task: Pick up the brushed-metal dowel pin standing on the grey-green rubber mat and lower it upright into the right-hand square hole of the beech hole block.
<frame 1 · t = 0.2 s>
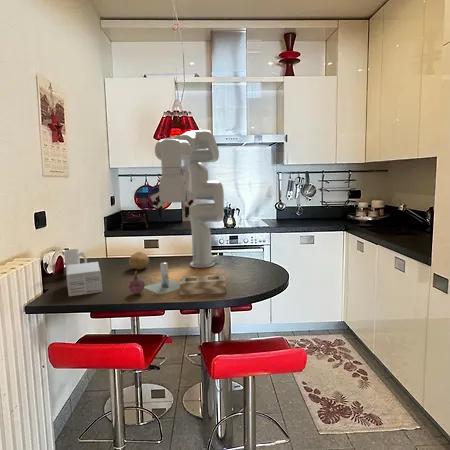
hand: (174, 217, 146), 30 cm above the breakfast bar, tool pointing down, fingers open, 9 cm apart
supplement box: (85, 289, 161), on the breakfast bar
hole block: (202, 290, 153), on the breakfast bar
mug: (77, 275, 184), on the breakfast bar
vegetable: (137, 295, 150), on the breakfast bar
pin: (165, 286, 158), resting on mat
mat: (165, 287, 158), on the breakfast bar
potato: (139, 269, 190), on the breakfast bar
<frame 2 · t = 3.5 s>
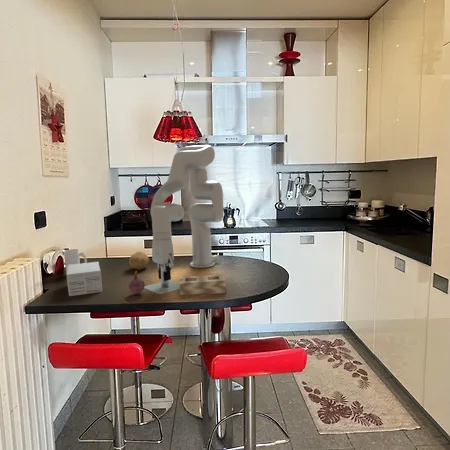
hand: (164, 278, 158), 4 cm above the breakfast bar, tool pointing down, fingers closed on pin, 3 cm apart
pin: (165, 286, 158), resting on mat, touching gripper
everything else where it was.
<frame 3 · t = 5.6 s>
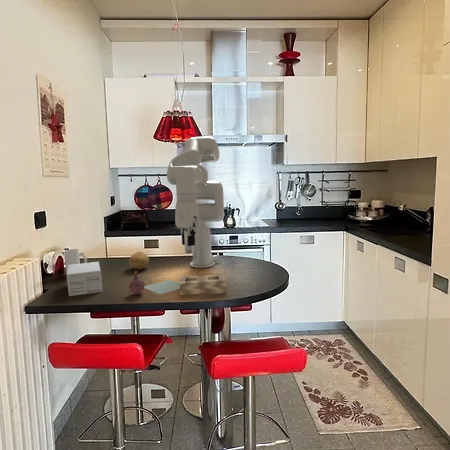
hand: (188, 244, 149), 19 cm above the breakfast bar, tool pointing down, fingers closed on pin, 3 cm apart
pin: (188, 252, 150), point 16 cm above the breakfast bar, touching gripper
everything else where it was.
when the fingers open (6 cm above the breakfast bar, at t = 7.9 s): pin drops 3 cm, resting in hole block.
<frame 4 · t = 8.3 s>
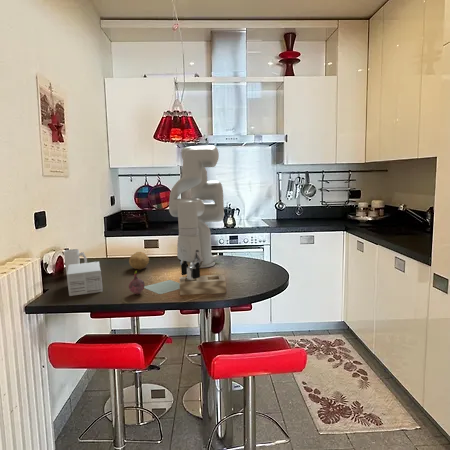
hand: (190, 275, 151), 6 cm above the breakfast bar, tool pointing down, fingers open, 6 cm apart
pin: (191, 291, 152), resting in hole block
everything else where it was.
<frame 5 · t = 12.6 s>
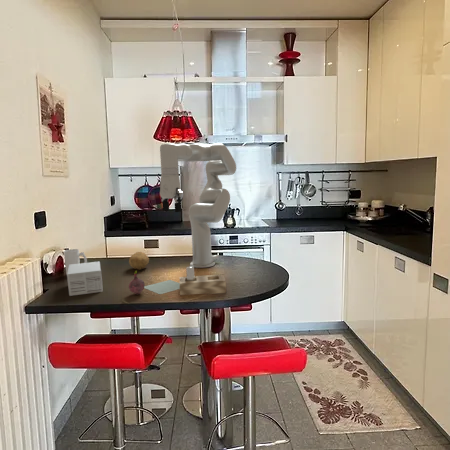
hand: (172, 211, 169), 30 cm above the breakfast bar, tool pointing down, fingers open, 9 cm apart
nothing on the breakfast bar moved.
at the end: pin 0.0 cm from the target spot, resting in hole block; pin tilted 0°; the gripper is holding nothing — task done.
